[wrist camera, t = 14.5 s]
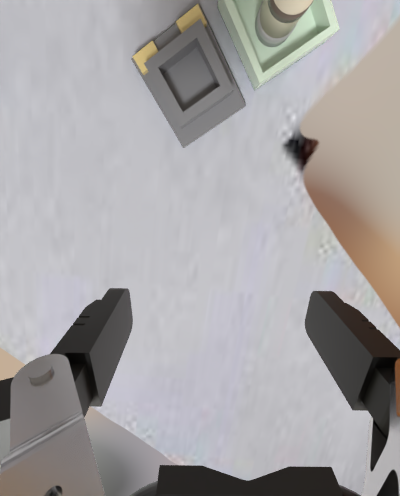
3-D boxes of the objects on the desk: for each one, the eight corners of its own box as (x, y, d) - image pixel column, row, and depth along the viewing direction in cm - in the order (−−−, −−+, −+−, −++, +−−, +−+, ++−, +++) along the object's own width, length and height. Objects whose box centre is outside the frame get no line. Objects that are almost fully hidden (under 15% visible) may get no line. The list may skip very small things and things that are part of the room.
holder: (133, 62, 30) (125, 50, 27) (199, 9, 28) (199, -11, 25) (183, 148, 34) (181, 147, 30) (244, 106, 32) (249, 101, 28)
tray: (217, 7, 28) (219, -11, 25) (294, -55, 26) (306, -81, 23) (254, 90, 31) (260, 83, 28) (325, 41, 29) (339, 29, 26)
